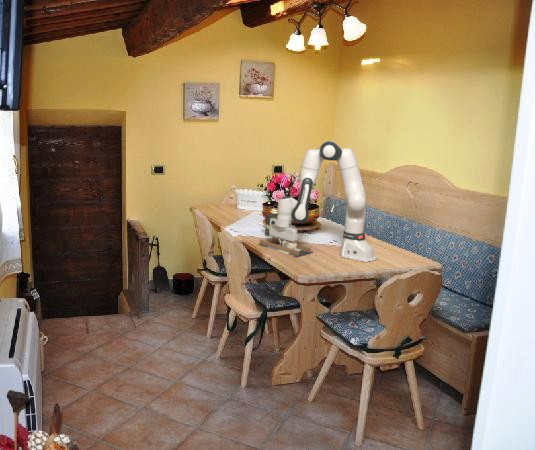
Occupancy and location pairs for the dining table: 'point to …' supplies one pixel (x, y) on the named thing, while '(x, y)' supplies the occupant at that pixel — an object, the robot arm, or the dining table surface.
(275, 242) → the runway
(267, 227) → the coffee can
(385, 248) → the dining table surface
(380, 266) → the dining table surface
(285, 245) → the block
